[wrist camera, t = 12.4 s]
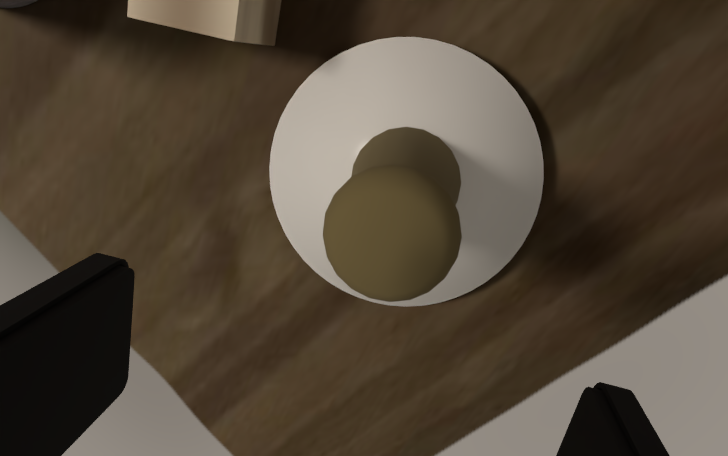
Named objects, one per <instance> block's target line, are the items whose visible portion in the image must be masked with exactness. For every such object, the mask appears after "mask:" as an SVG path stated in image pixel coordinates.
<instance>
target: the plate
mask: <svg viewBox="0 0 728 456" xmlns="http://www.w3.org/2000/svg"><path fill="white" fill-rule="evenodd" d="M400 127H411V128H418V129H424V130H426V131H427V132H429V133H431V134H433V135H435V136H437V137H439V138H440V139H441V140H442V141H443V142H444V143H445V144H446V145H447V146H448V147H449V148H450V149H451V150H452V152H453V154H454V156H455V158H456V161H457V163H458V165H459V169H460V177H461V187H460V192H459V197H458V201H457V203H456V208H457V210H458V213H459V218H460V226H461V234H462V239H461V244H460V249H459V253H458V258H457V259H456V261H455V263H454V264H453V266H452V268H451V269H450V271H449V273H448V274H447V276H446V277H445V279H444V280H443V281H441V282H440V283H439V284H438V285H437V286H436V287H434V288H433V289H432V290H431V291H430V292H428V293H426V294H423V295H421V296H419V297H416V298H414V299H411V300H405V301H395V302H387V301H381V300H376V299H371V298H368V297H366V296H364V295H362V294H360V293H358V292H356V291H354V290H353V289H351V288H350V287H349V286H348V285H347V284H346V283H345V282H344V281H343V280H342V279H341V278H339V277H338V276H337V274H336V273H335V271H334V269H333V267H332V265H331V264H330V262H329V260H328V258H327V255H326V250H325V245H324V240H323V227H324V219H325V212H326V210H327V208H328V206H329V204H330V202H331V200H332V198H333V196H334V194H335V193H336V192H337V191H338V190H339V189H340V188H341V187H342V186H343V185H344V184H345V183H346V182H347V181H348V180H349V179H350V178H351V176H352V169H353V164H354V162H355V160H356V158H357V156H358V154H359V152H360V150H361V149H362V148H363V147H364V146H365V145H366V144H367V143H368V142H369V141H370V140H371V139H372V138H373V137H375V136H376V135H378V134H380V133H382V132H384V131H386V130H388V129H394V128H400ZM269 170H270V187H271V193H272V199H273V203H274V207H275V210H276V213H277V216H278V219H279V221H280V223H281V226H282V228H283V230H284V232H285V234H286V236H287V237H288V239H289V241H290V242H291V244H292V246H293V247H294V249H295V250H296V251H297V252H298V254H299V255H300V256H301V257H302V259H303V260H304V261H305V262H306V263H307V264H308V265H309V266H310V267H311V268H312V269H313V270H314V271H315V272H316V273H318V274H319V275H320V276H321V277H323V278H324V279H325V280H327V281H328V282H329V283H331V284H333V285H334V286H336V287H338V288H339V289H341V290H343V291H345V292H347V293H349V294H351V295H354V296H356V297H358V298H362V299H365V300H368V301H371V302H375V303H380V304H385V305H393V306H423V305H429V304H435V303H440V302H443V301H447V300H450V299H454V298H456V297H459V296H461V295H463V294H465V293H468V292H470V291H472V290H474V289H475V288H477V287H479V286H480V285H482V284H484V283H485V282H487V281H488V280H489V279H490V278H492V277H493V276H494V275H496V274H497V273H498V272H499V271H500V270H501V269H502V268H503V267H504V266H505V265H506V264H507V263H508V262H509V261H510V260H511V259H512V258H513V256H514V255H515V254H516V253H517V251H518V250H519V249H520V247H521V246H522V244H523V243H524V241H525V239H526V237H527V236H528V234H529V232H530V230H531V228H532V225H533V223H534V221H535V218H536V216H537V213H538V209H539V205H540V201H541V197H542V189H543V181H544V168H543V155H542V149H541V143H540V139H539V136H538V133H537V130H536V126H535V123H534V121H533V119H532V117H531V115H530V113H529V111H528V109H527V107H526V105H525V104H524V102H523V101H522V99H521V98H520V96H519V94H518V93H517V91H516V90H515V89H514V88H513V87H512V86H511V85H510V83H509V82H508V81H507V80H506V79H505V78H504V77H503V76H502V75H501V74H500V73H499V72H498V71H496V70H495V69H494V68H493V67H492V66H491V65H489V64H488V63H486V62H485V61H483V60H482V59H480V58H479V57H477V56H475V55H474V54H472V53H470V52H468V51H466V50H463V49H461V48H459V47H457V46H455V45H451V44H448V43H444V42H441V41H438V40H433V39H426V38H419V37H393V38H386V39H378V40H374V41H371V42H367V43H364V44H360V45H358V46H355V47H353V48H351V49H348V50H346V51H344V52H342V53H340V54H338V55H337V56H335V57H333V58H332V59H330V60H328V61H327V62H325V63H324V64H323V65H322V66H320V67H319V68H318V69H317V70H316V71H314V72H313V73H312V74H311V75H310V76H309V77H308V78H307V79H306V80H305V81H304V82H303V84H302V85H301V86H300V87H299V88H298V89H297V91H296V92H295V94H294V95H293V97H292V98H291V99H290V101H289V102H288V104H287V106H286V108H285V110H284V112H283V114H282V116H281V118H280V120H279V123H278V126H277V129H276V132H275V134H274V139H273V144H272V148H271V155H270V167H269Z"/></svg>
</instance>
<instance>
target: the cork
mask: <svg viewBox="0 0 728 456" xmlns="http://www.w3.org/2000/svg"><path fill="white" fill-rule="evenodd" d="M460 187H461V177H460V169H459V165H458V163H457V161H456V158H455V156H454V154H453V152H452V150H451V149H450V148H449V147H448V146H447V145H446V144H445V143H444V142H443V141H442V140H441V139H440V138H439V137H437V136H435V135H433V134H431V133H429V132H427V131H426V130H424V129H418V128H411V127H400V128H394V129H388V130H386V131H384V132H382V133H380V134H378V135H376V136H375V137H373V138H372V139H371V140H370V141H369V142H368V143H367V144H366V145H365V146H364V147H363V148H362V149H361V150H360V152H359V154H358V156H357V158H356V160H355V162H354V164H353V169H352V176H351V178H350V179H349V180H348V181H347V182H346V183H345V184H344V185H343V186H342V187H341V188H340V189H339V190H338V191H337V192H336V193H335V194H334V196H333V198H332V200H331V202H330V204H329V206H328V208H327V210H326V212H325V219H324V227H323V240H324V245H325V250H326V255H327V258H328V260H329V262H330V264H331V265H332V267H333V269H334V271H335V273H336V274H337V276H338V277H339V278H341V279H342V280H343V281H344V282H345V283H346V284H347V285H348V286H349V287H350V288H351V289H353V290H354V291H356V292H358V293H360V294H362V295H364V296H366V297H368V298H371V299H376V300H381V301H387V302H395V301H405V300H411V299H414V298H416V297H419V296H421V295H423V294H426V293H428V292H430V291H431V290H432V289H433V288H434V287H436V286H437V285H438V284H439V283H440V282H441V281H443V280H444V279H445V277H446V276H447V274H448V273H449V271H450V269H451V268H452V266H453V264H454V263H455V261H456V259H457V258H458V253H459V249H460V244H461V239H462V234H461V226H460V218H459V213H458V210H457V208H456V203H457V201H458V197H459V192H460Z"/></svg>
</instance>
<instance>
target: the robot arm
mask: <svg viewBox="0 0 728 456" xmlns="http://www.w3.org/2000/svg"><path fill="white" fill-rule="evenodd" d="M133 292H134V271H133V270H132V269H131V268H129V267H128V263H127V262H126V261H125V260H124V259H120V258H116V257H112V256H108V255H104V254H100V253H96V254H93V255H91V256H89V257H88V258H86V259H84V260H82V261H80V262H78V263H77V264H75V265H73V266H71V267H69V268H68V269H66V270H64V271H62V272H60V273H58V274H57V275H55V276H53V277H51V278H50V279H48V280H46V281H44V282H42V283H40V284H38V285H37V286H35V287H33V288H31V289H30V290H28V291H26V292H24V293H22V294H20V295H19V296H17V297H15V298H13V299H11V300H9V301H8V302H6V303H4V304H2V305H0V456H61V455H62V454H63V453H64V452H65V451H66V450H67V449H68V448H69V447H70V446H71V445H72V444H73V443H74V442H75V441H76V440H77V439H78V438H79V437H80V436H81V435H82V434H83V433H84V432H85V431H86V429H87V428H88V427H89V426H90V425H91V424H92V423H93V422H94V421H95V420H96V419H97V418H98V417H99V416H100V415H101V414H102V413H103V412H104V411H105V410H106V409H107V408H108V407H109V406H110V405H111V404H112V403H113V402H114V400H115V399H117V397H118V396H119V395H120V394H121V393H122V391H123V390H124V388H125V386H126V383H127V380H128V370H129V354H130V339H131V324H132V308H133ZM556 456H669V454H668V452H667V451H666V449H665V447H664V445H663V444H662V442H661V440H660V439H659V437H658V435H657V433H656V432H655V430H654V428H653V427H652V425H651V423H650V421H649V419H648V418H647V416H646V414H645V413H644V411H643V409H642V407H641V406H640V404H639V402H638V400H637V399H636V397H635V395H634V394H633V393H632V391H631V390H628V389H624V388H620V387H617V386H613V385H609V384H605V383H601V382H599V383H597V384H596V385H595V386H594V388H591V387H587V388H585V390H584V391H583V393H582V395H581V398H580V400H579V403H578V405H577V407H576V410H575V412H574V414H573V417H572V419H571V422H570V424H569V427H568V429H567V431H566V434H565V436H564V438H563V441H562V443H561V446H560V448H559V451H558V453H557V455H556Z"/></svg>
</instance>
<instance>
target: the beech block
mask: <svg viewBox="0 0 728 456" xmlns="http://www.w3.org/2000/svg"><path fill="white" fill-rule="evenodd" d="M280 7H281V0H128V12H127V17H130V18H134V19H138V20H143V21H147V22H151V23H156V24H160V25H165V26H169V27H173V28H178V29H182V30H186V31H191V32H195V33H199V34H204V35H208V36H212V37H217V38H221V39H225V40H230V41H234V42H243V43H252V44H260V45H269V46H275V41H276V34H277V27H278V21H279V14H280Z"/></svg>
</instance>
